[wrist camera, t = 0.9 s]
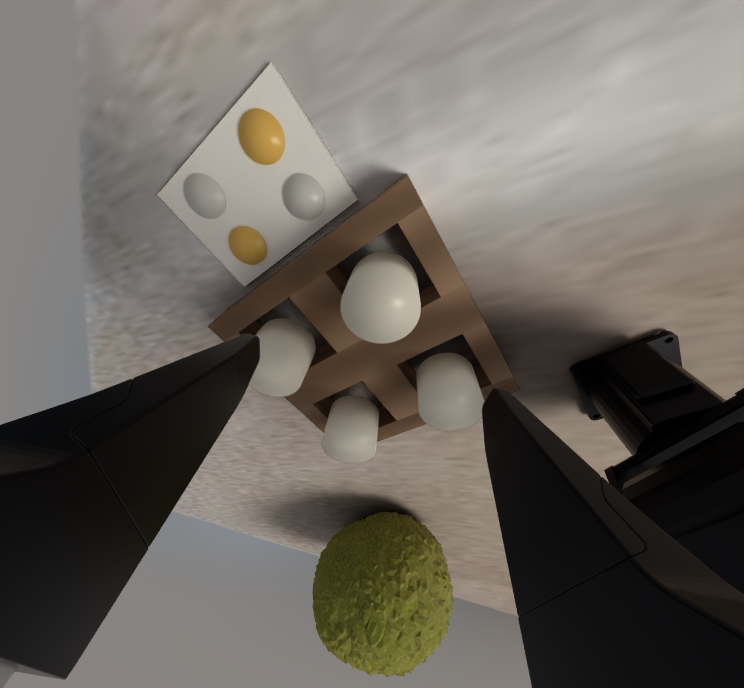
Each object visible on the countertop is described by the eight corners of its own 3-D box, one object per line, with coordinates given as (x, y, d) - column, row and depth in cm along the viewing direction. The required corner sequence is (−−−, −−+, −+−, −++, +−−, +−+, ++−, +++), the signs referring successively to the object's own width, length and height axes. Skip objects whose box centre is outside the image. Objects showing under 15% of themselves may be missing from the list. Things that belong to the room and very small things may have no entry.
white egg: (429, 295, 17) (435, 321, 14) (374, 325, 18) (369, 354, 16) (394, 236, 15) (393, 254, 12) (336, 275, 17) (324, 298, 14)
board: (509, 369, 22) (520, 390, 20) (349, 432, 28) (345, 452, 26) (407, 174, 16) (408, 176, 14) (225, 310, 21) (207, 326, 20)
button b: (388, 419, 23) (386, 454, 20) (349, 434, 25) (343, 468, 22) (360, 388, 21) (354, 421, 19) (320, 406, 23) (310, 439, 20)
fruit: (404, 557, 44) (343, 681, 33) (348, 486, 44) (269, 589, 33) (495, 576, 32) (446, 775, 22) (419, 479, 32) (333, 634, 21)
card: (358, 199, 16) (357, 200, 16) (246, 285, 20) (243, 288, 20) (273, 63, 13) (269, 60, 13) (160, 194, 17) (154, 195, 17)
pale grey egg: (482, 383, 20) (495, 417, 17) (432, 402, 22) (436, 437, 19) (458, 343, 18) (468, 374, 16) (405, 367, 20) (406, 400, 17)
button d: (327, 351, 20) (315, 382, 17) (286, 373, 21) (270, 404, 19) (288, 307, 18) (268, 334, 15) (247, 335, 20) (223, 363, 17)
